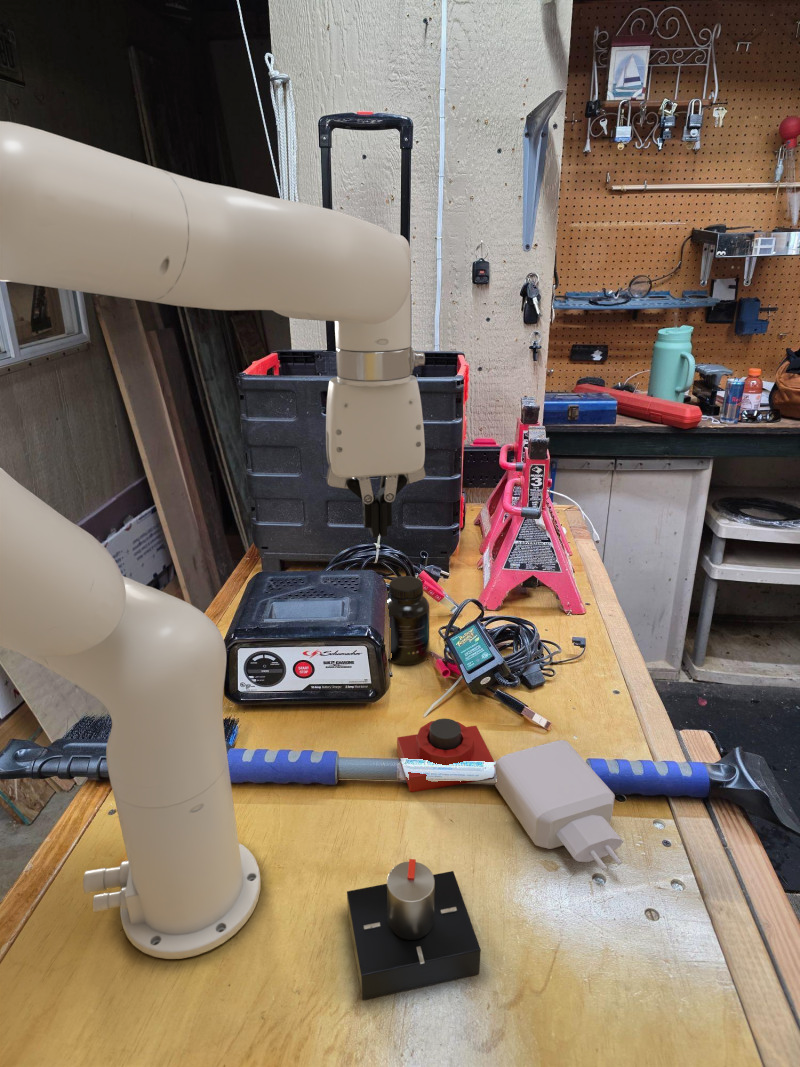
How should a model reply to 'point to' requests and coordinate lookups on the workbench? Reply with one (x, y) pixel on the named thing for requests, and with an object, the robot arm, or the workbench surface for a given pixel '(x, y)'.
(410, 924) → the dial
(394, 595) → the supplement bottle
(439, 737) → the button
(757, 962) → the workbench surface
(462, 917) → the black flat block
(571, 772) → the charger
